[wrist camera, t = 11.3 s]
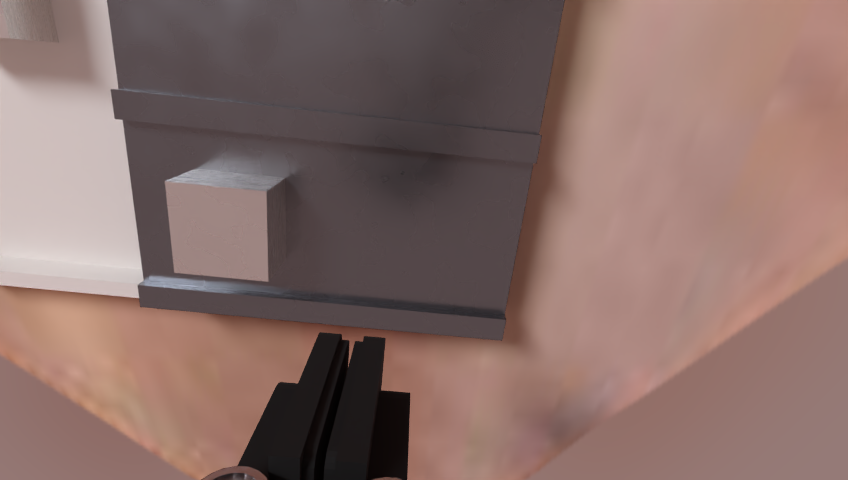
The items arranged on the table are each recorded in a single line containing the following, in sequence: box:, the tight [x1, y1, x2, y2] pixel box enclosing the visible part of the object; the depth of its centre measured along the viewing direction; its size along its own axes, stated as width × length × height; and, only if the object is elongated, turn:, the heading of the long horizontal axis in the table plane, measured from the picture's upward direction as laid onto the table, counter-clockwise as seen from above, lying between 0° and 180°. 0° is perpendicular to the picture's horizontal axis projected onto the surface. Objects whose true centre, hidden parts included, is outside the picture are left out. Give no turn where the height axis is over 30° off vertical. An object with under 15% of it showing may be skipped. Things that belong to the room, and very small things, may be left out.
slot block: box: [107, 0, 565, 341], centre depth 20 cm, size 18×19×3 cm
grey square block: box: [165, 169, 286, 282], centre depth 19 cm, size 4×4×2 cm
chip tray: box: [0, 0, 144, 298], centre depth 20 cm, size 11×19×2 cm, turn 174°
